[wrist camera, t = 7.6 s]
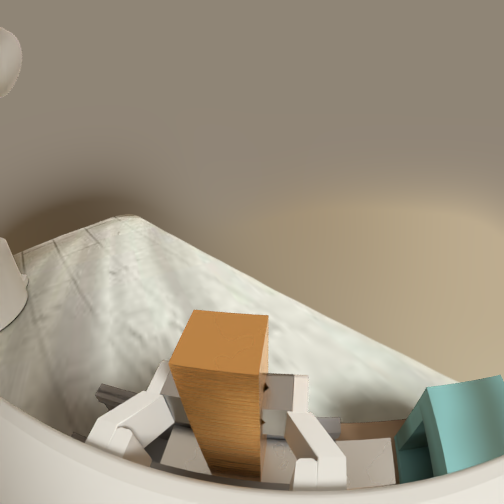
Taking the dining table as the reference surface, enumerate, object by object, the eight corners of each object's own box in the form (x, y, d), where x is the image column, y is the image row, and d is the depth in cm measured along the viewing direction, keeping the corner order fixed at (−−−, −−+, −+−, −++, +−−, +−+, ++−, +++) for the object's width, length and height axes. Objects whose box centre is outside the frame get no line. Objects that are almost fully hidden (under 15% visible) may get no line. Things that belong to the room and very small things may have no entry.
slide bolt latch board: (77, 499, 12) (15, 453, 8) (123, 404, 21) (90, 340, 17) (480, 519, 8) (549, 476, 5) (458, 419, 17) (502, 357, 13)
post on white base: (172, 484, 13) (82, 352, 7) (184, 446, 15) (125, 296, 10) (377, 498, 11) (492, 372, 6) (375, 458, 14) (459, 311, 8)
